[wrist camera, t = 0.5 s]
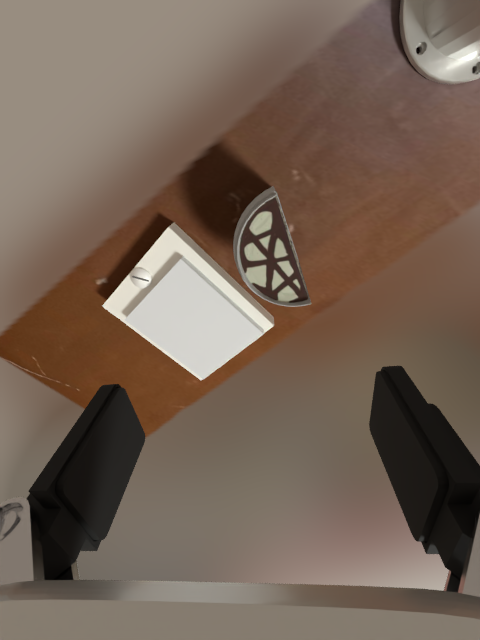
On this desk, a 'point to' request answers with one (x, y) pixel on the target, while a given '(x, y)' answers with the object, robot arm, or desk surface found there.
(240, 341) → the scale
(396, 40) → the desk surface
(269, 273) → the food container
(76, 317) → the desk surface
